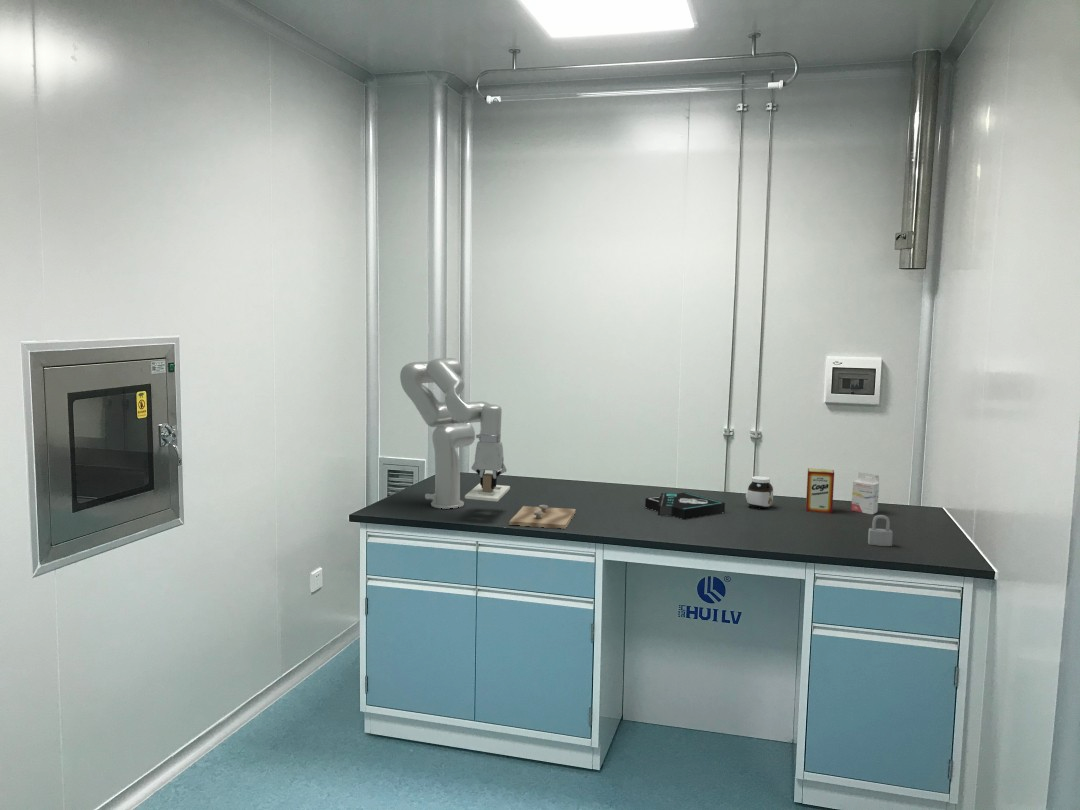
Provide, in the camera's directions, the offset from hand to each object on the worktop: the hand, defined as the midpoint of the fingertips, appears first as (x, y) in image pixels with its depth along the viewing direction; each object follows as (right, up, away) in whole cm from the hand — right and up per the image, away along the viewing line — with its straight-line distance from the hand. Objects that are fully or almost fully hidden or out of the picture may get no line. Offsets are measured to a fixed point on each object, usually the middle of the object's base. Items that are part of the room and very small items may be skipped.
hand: (488, 487), depth 304 cm
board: (+20, -11, -3) cm, 23 cm away
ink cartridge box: (+144, -11, +15) cm, 145 cm away
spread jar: (+105, -10, +22) cm, 107 cm away
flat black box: (+74, -11, +14) cm, 76 cm away
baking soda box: (+127, -11, +16) cm, 128 cm away
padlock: (+131, -16, -31) cm, 136 cm away
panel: (0, -2, 0) cm, 2 cm away
